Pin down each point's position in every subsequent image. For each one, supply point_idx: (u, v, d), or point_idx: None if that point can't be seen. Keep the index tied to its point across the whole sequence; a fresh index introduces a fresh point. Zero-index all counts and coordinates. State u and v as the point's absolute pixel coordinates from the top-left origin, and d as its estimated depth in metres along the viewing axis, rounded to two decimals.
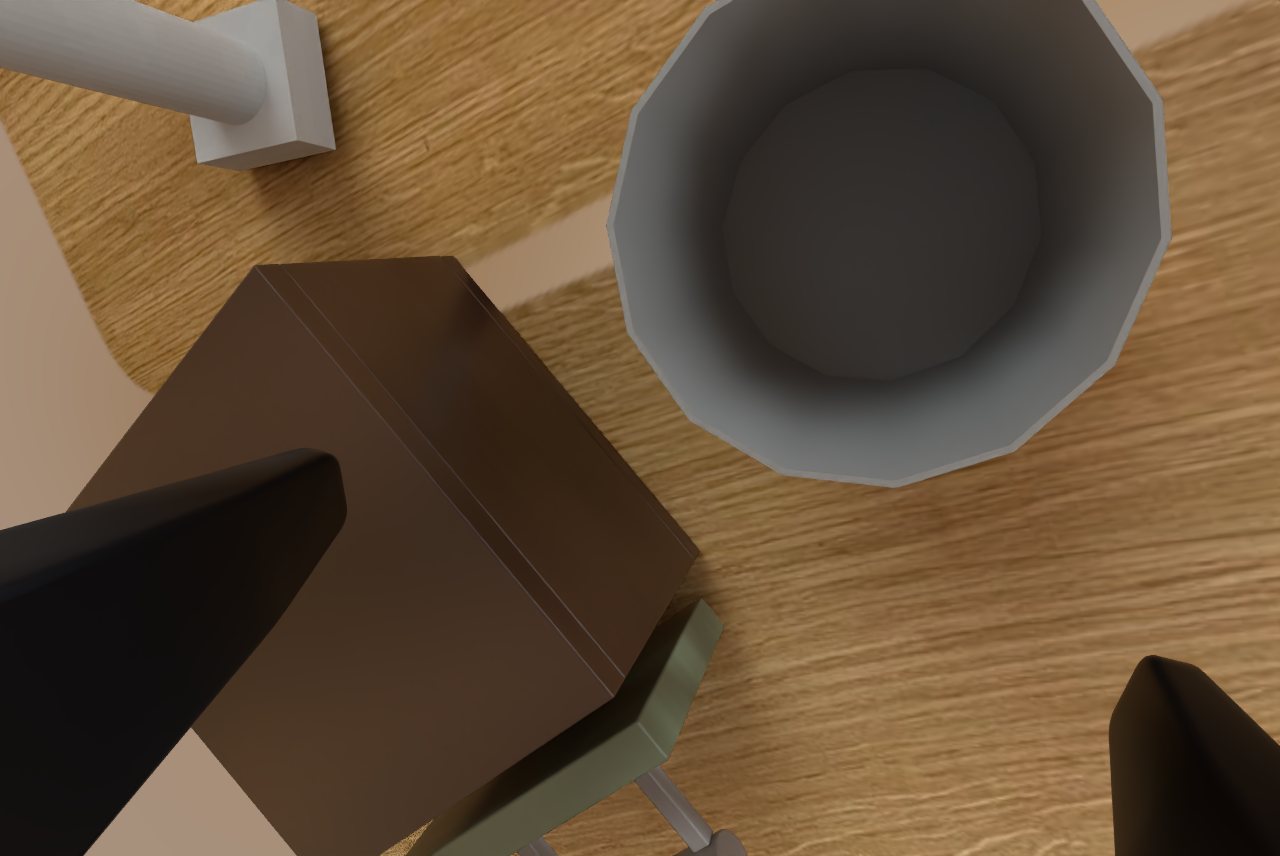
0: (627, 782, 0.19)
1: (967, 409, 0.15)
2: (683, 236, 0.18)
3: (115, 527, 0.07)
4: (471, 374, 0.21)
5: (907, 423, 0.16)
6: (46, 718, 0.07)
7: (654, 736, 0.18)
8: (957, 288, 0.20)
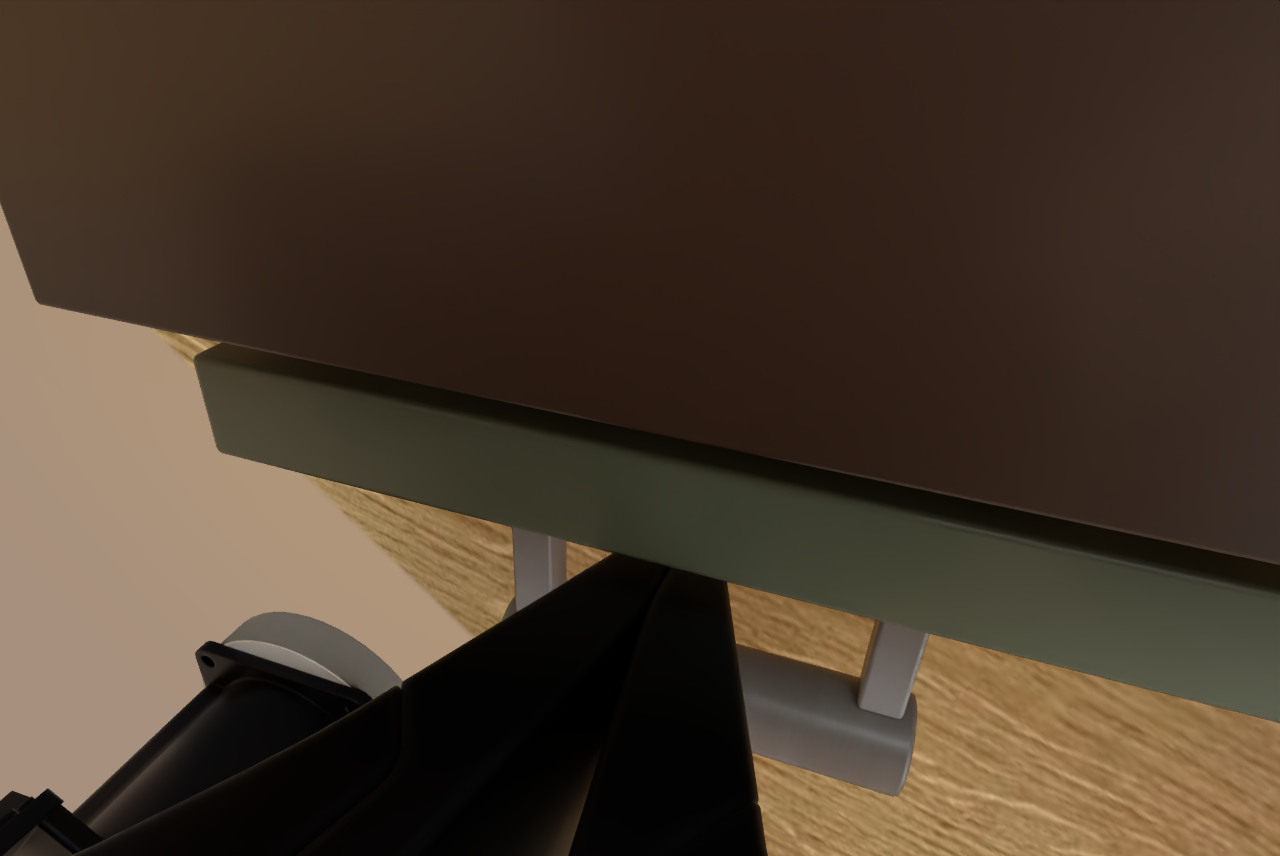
0: (1122, 679, 0.06)
1: None
2: None
3: (548, 656, 0.06)
4: None
5: None
6: None
7: None
8: None
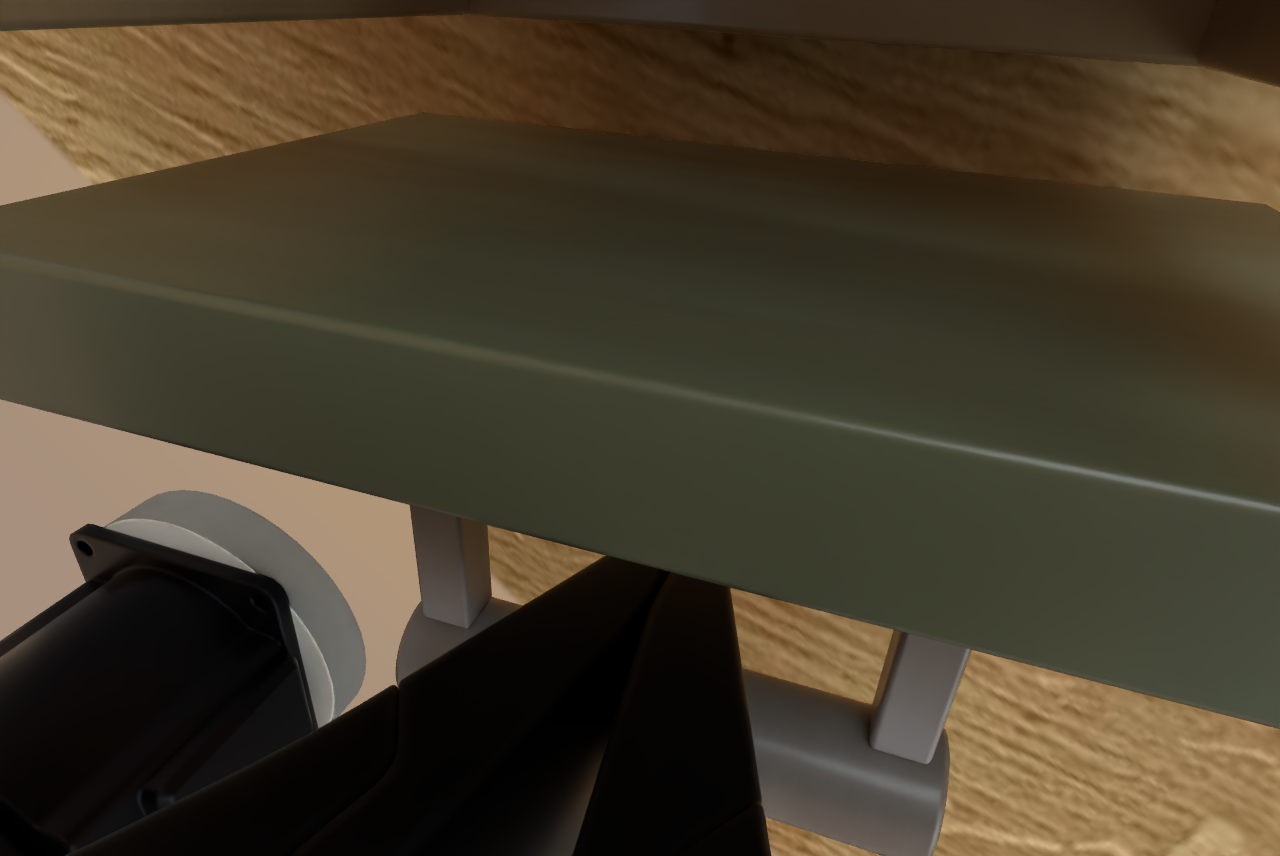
0: None
1: None
2: None
3: (545, 655, 0.06)
4: None
5: None
6: None
7: None
8: None
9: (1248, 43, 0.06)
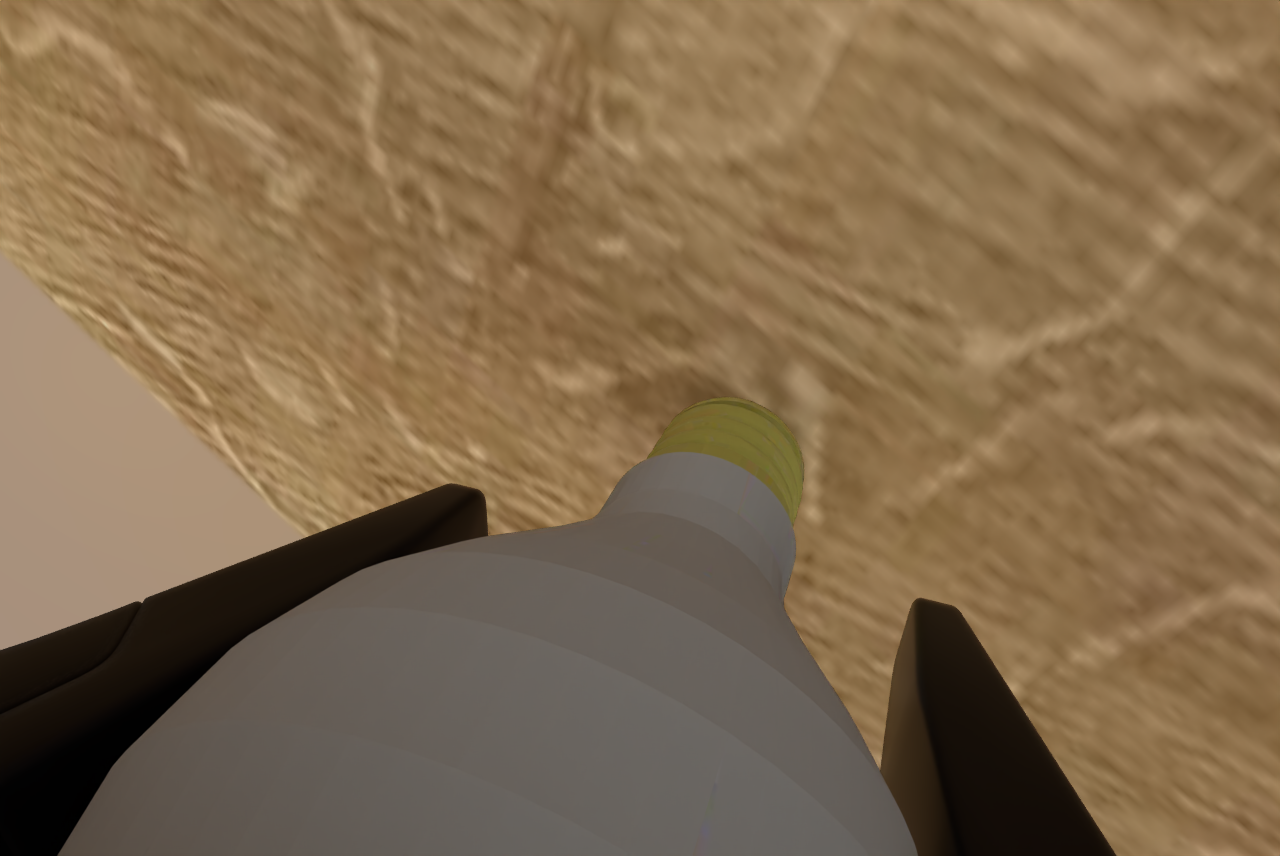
0: None
1: None
2: None
3: (294, 581, 0.07)
4: None
5: None
6: None
7: None
8: None
9: None
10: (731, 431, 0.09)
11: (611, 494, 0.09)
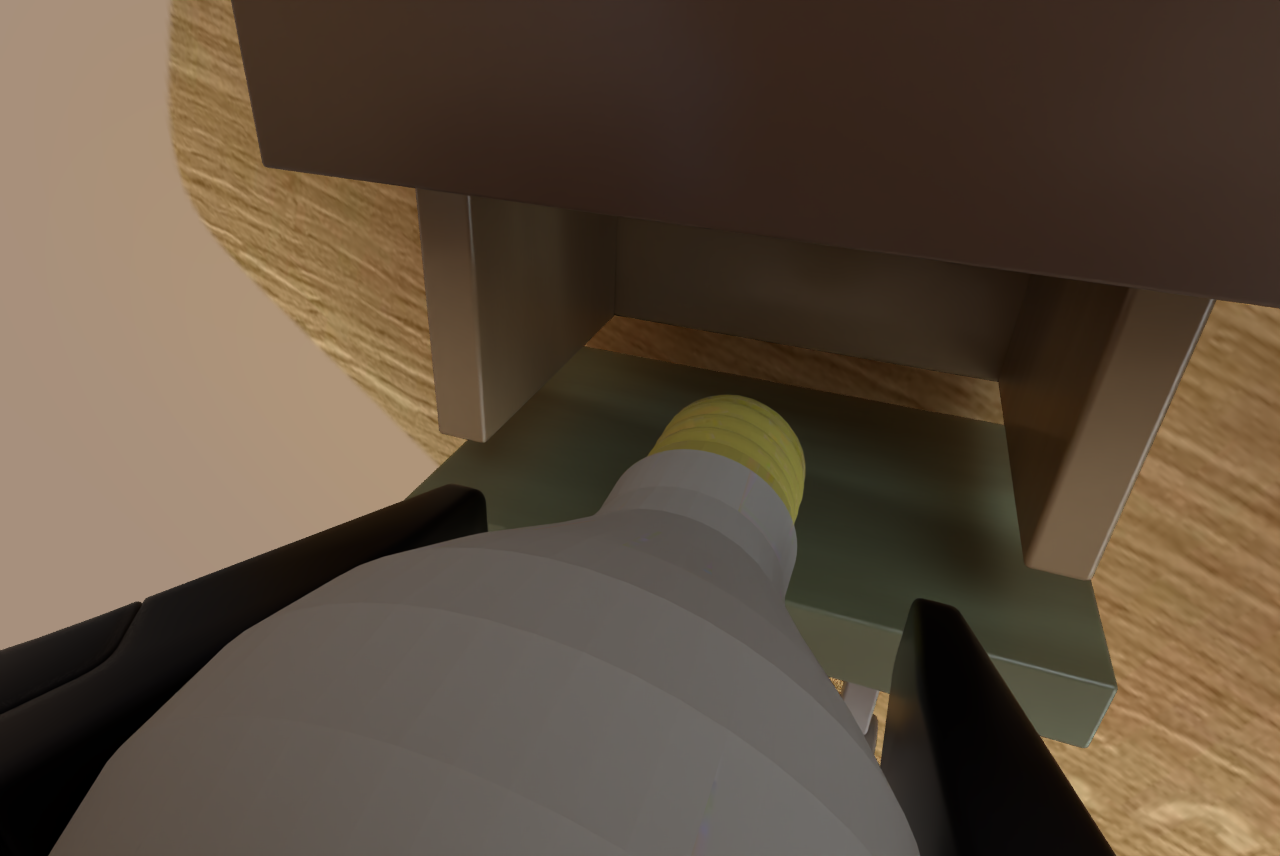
0: None
1: None
2: None
3: (295, 581, 0.07)
4: None
5: None
6: None
7: None
8: None
9: (1005, 402, 0.13)
10: (732, 429, 0.09)
11: (611, 492, 0.09)
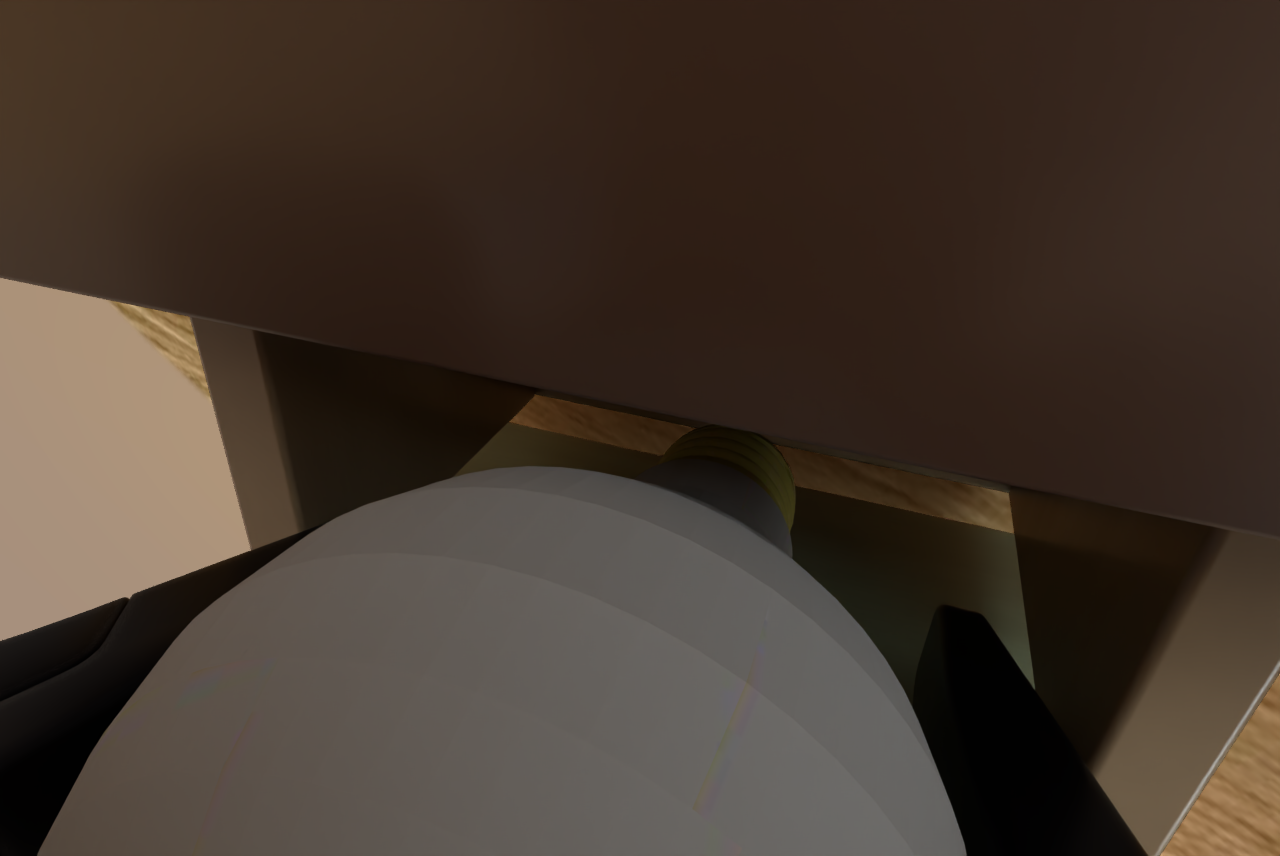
0: None
1: None
2: None
3: None
4: None
5: None
6: None
7: None
8: None
9: (1019, 531, 0.10)
10: (730, 449, 0.10)
11: None
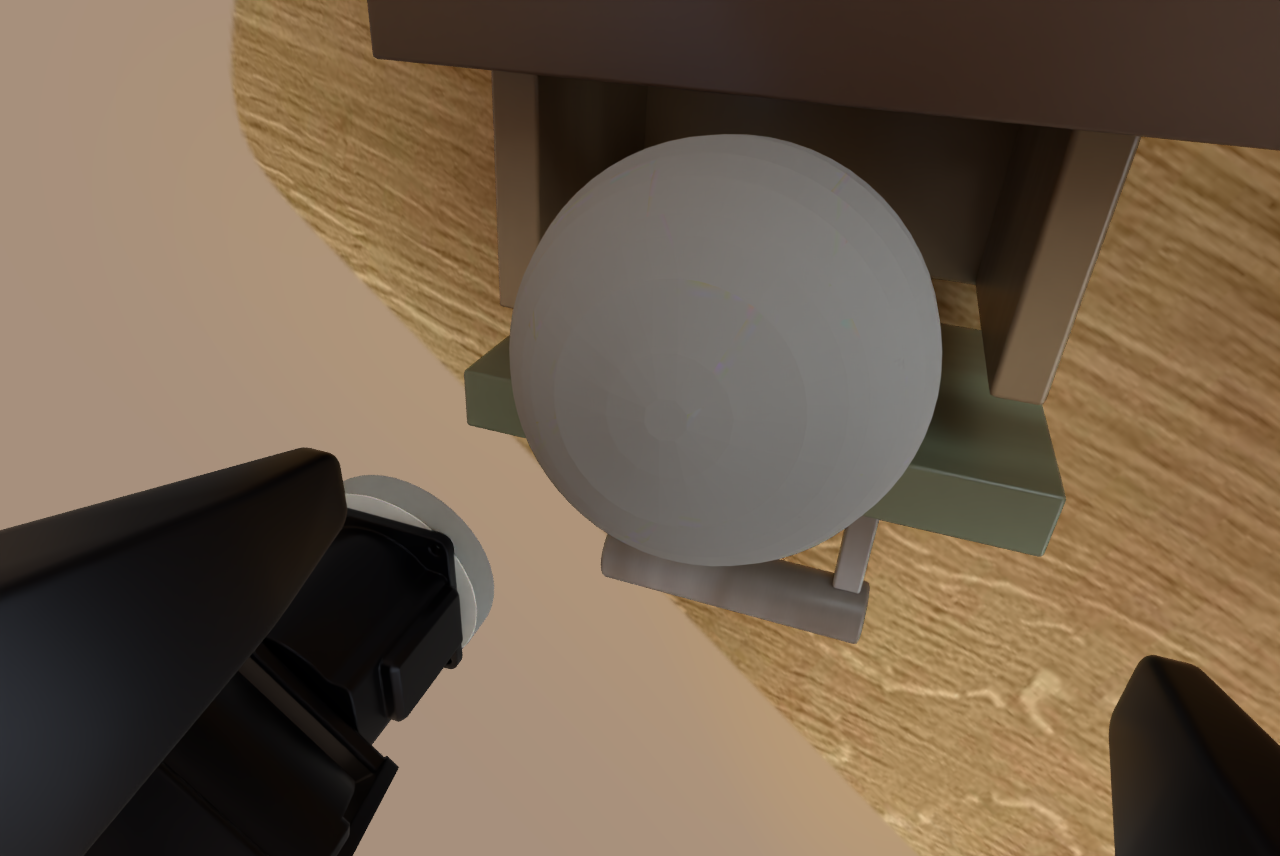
0: (956, 535, 0.13)
1: None
2: None
3: (115, 527, 0.07)
4: None
5: None
6: (46, 718, 0.07)
7: None
8: None
9: (979, 293, 0.15)
10: None
11: None
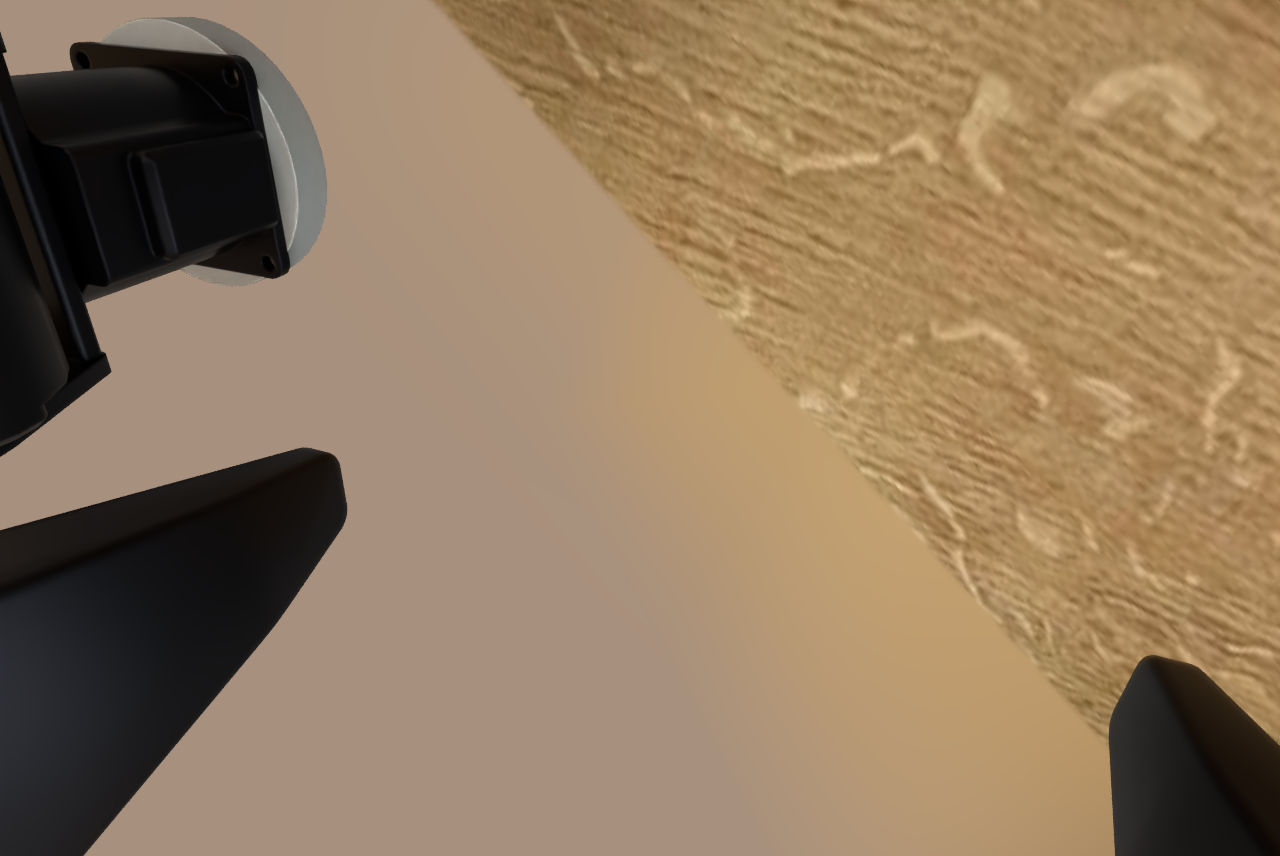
0: None
1: None
2: None
3: (115, 527, 0.07)
4: None
5: None
6: (46, 718, 0.07)
7: None
8: None
9: None
10: None
11: None
